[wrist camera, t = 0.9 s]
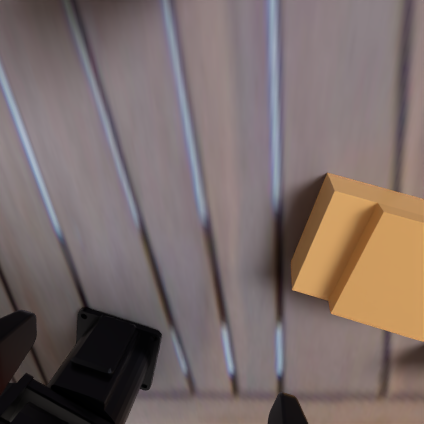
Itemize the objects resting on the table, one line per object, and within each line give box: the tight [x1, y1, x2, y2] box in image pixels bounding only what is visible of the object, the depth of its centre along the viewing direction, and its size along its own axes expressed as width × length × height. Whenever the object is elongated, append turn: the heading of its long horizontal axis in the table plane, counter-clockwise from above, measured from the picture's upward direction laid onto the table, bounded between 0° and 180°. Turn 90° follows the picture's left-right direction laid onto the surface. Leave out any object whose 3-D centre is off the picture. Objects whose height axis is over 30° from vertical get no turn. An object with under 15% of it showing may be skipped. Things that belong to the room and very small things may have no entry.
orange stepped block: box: [291, 173, 424, 342], centre depth 17 cm, size 6×7×4 cm
